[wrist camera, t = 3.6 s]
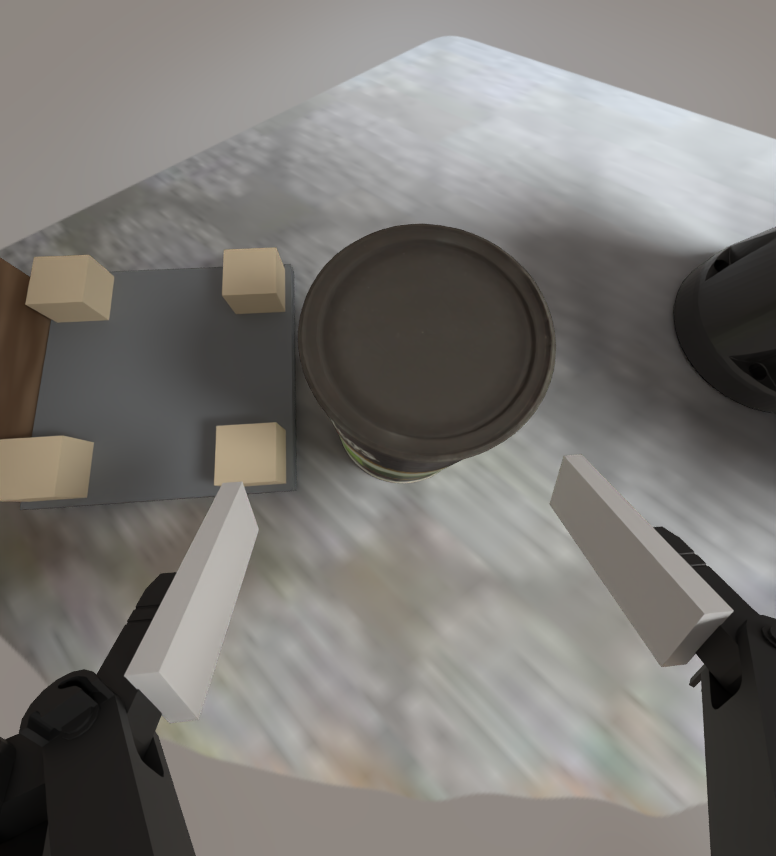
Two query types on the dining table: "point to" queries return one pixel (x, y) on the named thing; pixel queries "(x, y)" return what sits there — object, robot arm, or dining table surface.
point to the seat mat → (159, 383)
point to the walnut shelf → (19, 354)
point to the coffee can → (425, 348)
